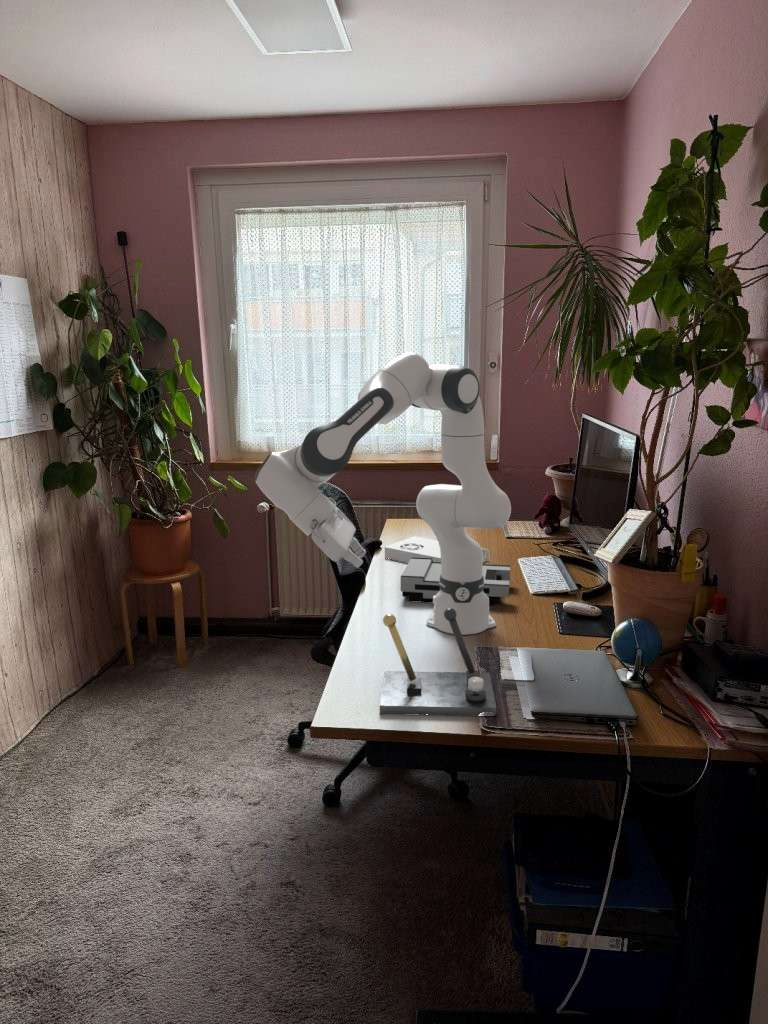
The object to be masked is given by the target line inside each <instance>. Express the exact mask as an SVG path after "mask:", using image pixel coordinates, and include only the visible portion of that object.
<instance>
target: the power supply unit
mask: <svg viewBox="0 0 768 1024" xmlns="http://www.w3.org/2000/svg"><path fill="white" fill-rule="evenodd" d="M481 549H482V552H483V563H482V564H485V563H487V562H489V561H490V560H489V559H490V550H489V549H487V548H482V547H481ZM411 557H415V558H432V562H441V552H440V546H439V543H438V540H436V539H433V538H432V539H431V538H426V537H420V536H416V535H415V536H414V535H413V536H410V537H408V538H405V539H403V540H400V541H397V542H394V543H391V544H388V545H386V546H384V559H385V558H389V559H392V560H391V561H394V560H396V562H399V561H401V562H400V563H404V562H406V563H405V564H408V563H409V561H410V559H411ZM389 559H388V560H389Z"/></svg>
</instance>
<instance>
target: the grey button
mask: <svg viewBox="0 0 768 1024" xmlns="http://www.w3.org/2000/svg"><path fill="white" fill-rule="evenodd" d="M483 683H484V680H483V679H482V678H480V677H471V678H469V679H468V689H469V690H470V691H474V692H479V691H482V690H483Z"/></svg>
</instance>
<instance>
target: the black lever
mask: <svg viewBox="0 0 768 1024" xmlns="http://www.w3.org/2000/svg"><path fill="white" fill-rule="evenodd" d="M456 616H457V613H456V611H455V610H454V609H453V608H447V609H446V610H445V611H444V617H445V619H446V620H448V621H449V623H450V626H451V628H452V631H453V634H452V635H453V636H454V638H455V641H456V645H457V646H458V649H459V652H460V654H461V657H462V659H463V660H462V661H463V662H464V664H465V668H466V671H468V673H469V674H472V673H474V672H475V671H476V669H475V667H474V663H473V661H472V658H471V656H470V653H469V650H468V647H467V645H466V643H465V640H464V637H463V635H462V634H461V631H460V629H459V626H458V623H457V621H456Z"/></svg>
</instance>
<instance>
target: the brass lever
mask: <svg viewBox="0 0 768 1024" xmlns="http://www.w3.org/2000/svg"><path fill="white" fill-rule="evenodd" d="M382 622H383V625H384V626H385V627H387V628H388V631H389V632H390V635H391V638H392V640H393V643H394V645H395V647H396V651H397V654H398V655H399V658H400V660H401V663H402V666H403V668H404V670H405V671H406V673H407V676H408V678H409V681H413V680H415V679H416V676H415V674H414V672H415V671H414V669H413V667H412V663H411V661H410V659H409V657H408V653H407V651H406V648H405V645H404V644H403V640H402V639H401V636H400V633H399V631H398V628H397V626H396V624H397V619H396V616H395V615H394V614H392V613H387V614H385V615H384V616H383V619H382Z"/></svg>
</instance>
